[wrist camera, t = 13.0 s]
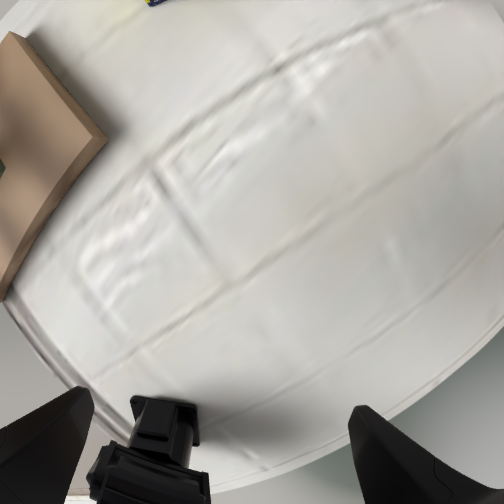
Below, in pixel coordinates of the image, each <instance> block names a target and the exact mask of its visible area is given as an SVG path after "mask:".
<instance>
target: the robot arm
mask: <svg viewBox="0 0 504 504" xmlns="http://www.w3.org/2000/svg"><path fill="white" fill-rule="evenodd" d="M130 404H131V408H132V411H133V415H134V419H135V422H136V423H135V426H134V428H133V431H132V434H131V437H130V439H129V442H128V445H127V447H125V446H122V445H120V444H118V443H117V442H115V441H113V440H111V442H110V444H109V446H107V445H106V446H102V448H101V450H100V453H99V455H98V457H97V459H96V461H95V463H94V464H93V466H92V467H91V469H90V471H89V472H88V474H87V476H86V480H87V482H88V484H89V485H90V488H89V490H90V499H92V500H95V501H97V504H211V497H210V486H209V474H208V473H206V472H199V471H195V470H191V469H188V468H189V461H190V455H191V448H192V446H194V447H198V446H200V434H199V422H198V409H197V407H196V406H195V405H193V404H185V403H176V402H168V401H161V400H154V399H148V398H142V397H136V396H133V397H131V399H130ZM192 409H193V410H192ZM93 413H94V402H93V399H92V396H91V393H90V391H89V389H88V388H86V387H82V386H76V387H74V388H72V389H71V390H69V391H67V392H66V393H64V394H62V395H60V396H59V397H57V398H55V399H53V400H52V401H50V402H48V403H46V404H45V405H43V406H41V407H39V408H38V409H36V410H34V411H32V412H30V413H29V414H27V415H25V416H23V417H21V418H20V419H18V420H16V421H14V422H13V423H11V424H9V425H7V426H5V427H3V428H1V429H0V504H64V502H65V499H66V496H67V493H68V490H69V487H70V484H71V481H72V478H73V475H74V472H75V470H76V467H77V464H78V462H79V459H80V456H81V453H82V451H83V448H84V446H85V442H86V439H87V435H88V431H89V427H90V423H91V420H92V416H93ZM348 430H349V436H350V442H351V448H352V455H353V461H354V465H355V468H356V472H357V476H358V480H359V483H360V487H361V490H362V494H363V497H364V501H365V504H504V489H494V488H490V487H487V486H485V485H483V484H481V483H479V482H477V481H475V480H473V479H471V478H469V477H467V476H465V475H463V474H461V473H460V472H458V471H456V470H455V469H453V468H451V467H450V466H448V465H447V464H445V463H443V462H442V461H441V460H439V459H438V458H436V457H435V456H434V455H432V454H431V453H430V452H428V451H427V450H426V449H424V448H423V447H421V446H420V445H419V444H417V443H416V442H415V441H413V440H412V439H411V438H409V437H408V436H407V435H405V434H404V433H403V432H401V431H400V430H399V429H397V428H396V427H394V426H393V425H392V424H391V423H389V422H388V421H387V420H386V419H384V418H383V417H382V416H380V415H379V414H378V413H377V412H375V411H374V410H373V409H371V408H370V407H369V406H367V405H359V406H355V407H354V409H353V412H352V414H351V417H350V419H349V422H348Z"/></svg>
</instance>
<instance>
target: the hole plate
mask: <svg viewBox="0 0 504 504" xmlns="http://www.w3.org/2000/svg"><path fill="white" fill-rule="evenodd" d="M108 140H109V139H108V138H107V137H106V136H105V134H104V133H103V132H102V131H101V130H100V129H99V128H98V126H97V125H96V124H95V123H94V122H93V121H92V119H91V118H90V117H89V116H88V115H87V113H86V112H85V111H84V110H83V109H82V108H81V106H80V105H79V104H78V103H77V102H76V100H75V99H74V98H73V97H72V96H71V94H70V93H69V92H68V91H67V90H66V88H65V87H64V86H63V85H62V84H61V82H60V81H59V80H58V79H57V77H56V76H55V75H54V74H53V73H52V71H51V70H50V69H49V68H48V66H47V65H46V64H45V63H44V61H43V60H42V59H41V58H40V56H39V55H38V54H37V53H36V51H35V50H34V49H33V48H32V46H31V45H30V44H29V43H28V41H27V40H26V39H25V38H24V37H22V36H20V35H17V34H15V33H13V32H11V31H9V32H8V34H7V35H6V36H5V38H4V39H3V40H2V42H1V43H0V159H1V161H2V162H3V164H4V165H5V167H6V169H5V171H4V173H3V175H2V177H1V179H0V302H2V301H3V299H4V297H5V295H6V293H7V291H8V288H9V286H10V284H11V282H12V280H13V278H14V277H15V275H16V273H17V271H18V269H19V267H20V265H21V263H22V261H23V260H24V258H25V256H26V254H27V253H28V251H29V249H30V247H31V246H32V244H33V242H34V241H35V239H36V237H37V236H38V234H39V232H40V231H41V229H42V228H43V226H44V225H45V223H46V221H47V220H48V218H49V217H50V215H51V214H52V212H53V211H54V209H55V208H56V206H57V205H58V204H59V202H60V201H61V199H62V198H63V196H64V195H65V194H66V192H67V191H68V190H69V188H70V187H71V186H72V184H73V183H74V182H75V180H76V179H77V178H78V176H79V175H80V174H81V172H82V171H83V170H84V169H85V167H86V166H87V165H88V164H89V162H90V161H91V160H92V159H93V158H94V156H95V155H96V154H97V153H98V152H99V151H100V149H101V148H102V147H103V146H104V145H105V144H106V142H107V141H108Z"/></svg>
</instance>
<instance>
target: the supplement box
mask: <svg viewBox="0 0 504 504" xmlns="http://www.w3.org/2000/svg"><path fill="white" fill-rule="evenodd" d="M145 1H146V2H147V4H148V5H149V6H150V7H151V6H153V5H156V4H158V3H160V2H162V1H164V0H145Z"/></svg>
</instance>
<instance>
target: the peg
mask: <svg viewBox="0 0 504 504" xmlns="http://www.w3.org/2000/svg"><path fill="white" fill-rule="evenodd" d="M5 169H6V167H5V165H4V164H3V162H2V161H1V159H0V179H1V177H2V175H3V173H4V171H5Z"/></svg>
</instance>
